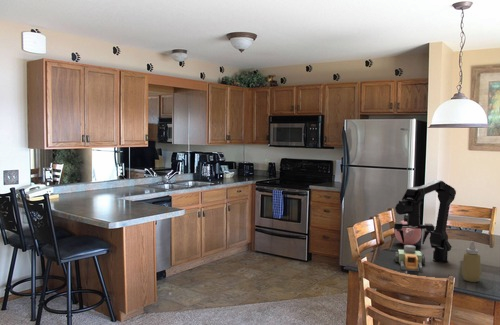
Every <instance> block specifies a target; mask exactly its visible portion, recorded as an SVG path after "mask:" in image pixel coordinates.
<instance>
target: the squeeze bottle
mask: <svg viewBox="0 0 500 325" xmlns="http://www.w3.org/2000/svg"><path fill="white" fill-rule="evenodd" d="M461 265H462V266H461V274H462V277H463V280H464V281H466V282H469V283H470V282H471V283H476V282H477V283H478V282H479V280H480V277H481V275H482V264H481V255H480V254H479V250H478V249H477V248H476V245H475V241H474V240H473V241H472V240H471V241H470V244H469V247H467V248H466V252H464V254H463V259H462V264H461Z"/></svg>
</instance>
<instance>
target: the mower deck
mask: <svg viewBox="0 0 500 325" xmlns="http://www.w3.org/2000/svg"><path fill="white" fill-rule="evenodd" d="M397 250H398V251H394V262H395V263H398V264H400V260H403V263H405V254H415V255H417V258H418V261H420V262H421V265H422V266H423V265H426V257H425V254H424V253H422V252H421V251H420V250H416V245H405V244H403V249H397ZM407 258H408V262H414V263H415V258H410V257H407Z"/></svg>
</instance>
